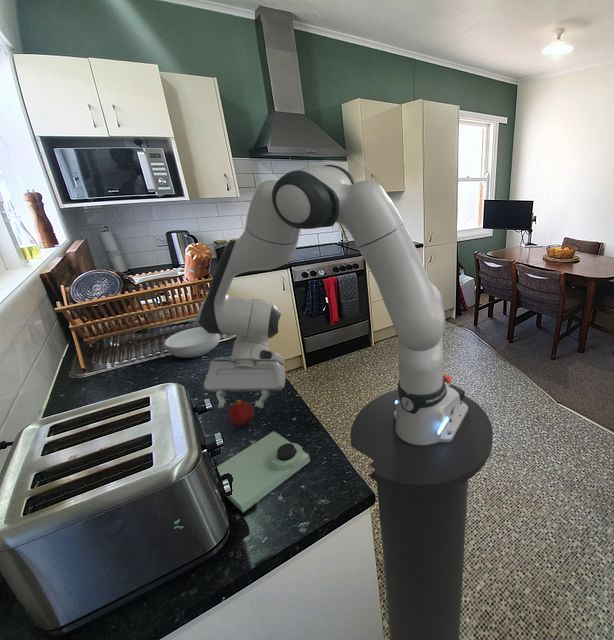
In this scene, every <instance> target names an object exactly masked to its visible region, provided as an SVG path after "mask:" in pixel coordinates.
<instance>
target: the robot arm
mask: <svg viewBox="0 0 614 640" xmlns="http://www.w3.org/2000/svg"><path fill="white" fill-rule="evenodd" d="M336 223H337V224H340V225H342V226H343V227H345V229H346V230H347V231H348V232H349V234H350V236H351V238H352V239H353V242H354V243H355V245H356V247H357V249H358V251H359V252H360V254H361V256H362V258H363V260H364V262H365V264H366V266H367V267H368V269H369V271H370V274H371V275H372V276H373V279H374V281H375V283H376V285H377V287H378V290H379V294H380V296H381V298H382V301H383V303H384V306H385V308H386V311H387V313H388V315H389V317H390V320H391V322H392V324H393V327H394V330H395V332H396V335H397V338H398V343H397V346H398V350H397V351H398V352H397V355H398V356H397V358H398V381H397V389H398V394H397V400H396V401H395V403H397V406H396V411H394V418H395V420H396V424H395V430H396V433H397V435H398V436H399V437H400V438H401V439H402V440H403V441H405V442H407V443H410V444H414V445H430V444H434V443H438V442H451V441H452V439H453V438H454V436H455V434H456V432H457V430H458V428H459V426H460V424H461V423H462V421H463V419H464V417H465V415H466V413H467V411H468V406H467V405H466V404H465V403H464V402H463V401H461V400H463V399H464V398H465V396H466V391H465V390H464V389H462V388H460V387H458V386H456V385H454V384H453V383H452V381H453V377H452V376H451V375H447V374H444V335H443V334H444V332H445V328H446V315H445V314H446V313H445V308H444V301H443V297H442V294H441V292H440V290H439V289H438V288H437V286H436V285H434V283H432V282H431V281H430V278H429V276H428V273H427V271H426V269H425V266H424V263H423V261H422V258H421V256H420V254H419V251H418V250H417V247H416V245H415V243H414V240H413V239H412V237H411V235H410V233H409V231H408V229H407V227H406V225H405V223H404V221H403V218H402V216H401V215H400V213H399V211H398V209H397V207H396V205H395V204H394V203H393V201H392V199H391V198H390V197H389V195H388V194H387V192H386V190H384V187H382V186H381V184H379V183H378V182H376V181H374V180H360V181H357V182H356V180H355V178H354V177H353V175H352V174H351V173H350V172H349V171H348V170H347V169H346V168H343V167H341V166H339V165H334V164H325V165H310V166H306V167H305V166H304V167H302V168H299V169H296V170H292V171H288V172H287V173H285V174H284V175H282V176H281V177H280V178H279V179H278V180H276V179H275V180H274V179H272V180H271V179H270V180H269V179H268V180H265V181H262V182H261V183H259V184H258V185H257V186H256V188H255V190H254V193H253V194H252V197H251V200H250V203H249V207H248V211H247V215H246V221H245V228H244V230H243V232H242V234H241V235H240V236H239V237H238V238H237V239H233V240H230V241H229V242H227V244H226V245H225V247H224V249H223V251H222V253H221V256H220V258H219V260H218V263H217V265H216V268H215V271H214V274H213V277H212V279H211V282H210V285H209V289H208V292H207V294H206V296H205V298H204V299H203V300H202V301H201V304H200V306H199V309H198V313H197V320H198V324H199V326H200V327H202V328H203V329H204V330H206V331H207V332H208V333H212V334H219V335H231V336H236V339H235V341H234V342H233V347H232V352H231V356H226V357H222V356H219V357H216V358H214V359H212V360H211V361H210V363H209V366H208V371H207V373H206V376H205V379H204V382H203V388H204V390H205V391H208V392H212V393H215V396H216V399H217V401H218V405H217V408H218V409H220V410H225V409H226V410H227V408H228V405H229V401H226V399H225V396H226V395H227V392H260V394H261V396H260V397H259V399H258V400H255V401H254V408H255V409H263V408H264V405H265V402H266V400H267V399H268V398H269V397H270V394H271V392H281V391H283V389H284V388H285V385H286V368H285V366H284V365H285V363H286V361H285V358H284V357H283V356H282V355H281V354H279V353H277V352H275V351H273V350H270V344H269V340H270V339H272V338H273V337H274V336H276V335H277V334H278V333H279V324H280V323H279V322H280V319H281V315H282V313H281V312H280V310H279V309H278V308H277V306H276V305H275V304H274V303H270V302H269V301H267V300H265V299H261V298H251V299H249V298H242V297H236V296H232V295H229V294H228V292H229V290H230V289H231V288H230V287H231V285H232V282H233V280H234V279H235V277H236V276H238V275H241V274H244V273H247V272H254V271H269V270H274V269H277V268H280V267H282V266H284V265H287V264H288V263H289V262H290V261H291V260H292V258H293V257H294V254H295V252H296V249H297V246H298V243H299V239H300V234H301V230H314V229H320V228H329V227H333V226H335V224H336ZM446 384H448V385H446Z"/></svg>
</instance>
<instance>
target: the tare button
mask: <svg viewBox="0 0 614 640" xmlns="http://www.w3.org/2000/svg"><path fill="white" fill-rule="evenodd" d="M290 443H291V442H290ZM290 443H287V444H284V445H282V446H280V447H279V448H278V450H277V453H278V458H279V460H281V461H286V460H290V459H291V458H293V457H294V456H295V448H294V445H293V444H290Z"/></svg>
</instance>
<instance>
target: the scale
mask: <svg viewBox="0 0 614 640" xmlns="http://www.w3.org/2000/svg"><path fill="white" fill-rule="evenodd" d="M287 443H290V444H293V445H294V448H295V456H294V457H293V458H291V459H290V460H286V461H281V460H279V458H278V453H277V450H278V448H279V447H280V446H282V445H284V444H287ZM309 463H311V458H310V455H309V454H308V453H307V452H305V451H304V450H303V447H302V446H301V445H299V444H298V443H293V442H290V441H289V440H288V439H286V438H285V437H283V436H282V435H280V434H279V433H277V432H276V431H275V430H273V431H271V432H270V433H268V434H267V435H265V436H264V437H262V438H260V439H259V440H257V441H256V442H254V443H253V444H251V445H249V446H247V447H246V448H244V449H243V450H241V451H240V452H238V453H237V454H234V456H232V457H230V458H229V459H227V460H225V461H224V462H223V463H220V464H218V465H217V466H216V467H217V469H218V472H219V474H220V476H222V475H224V474H227V473H229V474H231V475H232V477H233V482H232V490H233V491H232V495H230V496H226V498H228V500H230V501H231V502H232V503H233V505H234V506H236V507H237V509H238V510H240V511H241V512H242V513H245V512H246V511H247V510H249V509H250V508H252V507H253V506H254V505H255V504H256V503H258V502H259V501H260V500H263V498H264V497H266V496H267V495H268V494H269V493H271V492H272V491H274V490H275V489H276V488H277V487H279V486H280V485H281V484H282V483H284V482H286V481H287V480H288V479H289V478H290V477H292V476H293V475H294V474H296V473H297V472H298V471H300V470H301V469H303V467H305V466H306V465H307V464H309Z"/></svg>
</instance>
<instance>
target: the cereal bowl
mask: <svg viewBox="0 0 614 640" xmlns="http://www.w3.org/2000/svg"><path fill="white" fill-rule="evenodd" d="M220 336H221V334H212V333H208V332H207V331H206V330H204V329H203V328H202V327H201V326H198V327H197V326H196V327H192V328H187V329H184V330H181V331H178V332H175V333H174V334H172V335H170V336H168V337H167V338H166V340H165V341H164V345H165V348H166V350H167V352H168V353H169V354H170V355H172V356H174V357H177V358H181V359H185V358H188V359H195V358H200V357H202V356H205V355H207V354H209V352H210V351H211V352H212V350H213V349H215V348H216V347H217V346H218V344H219V343H220V340H221V337H220Z"/></svg>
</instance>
